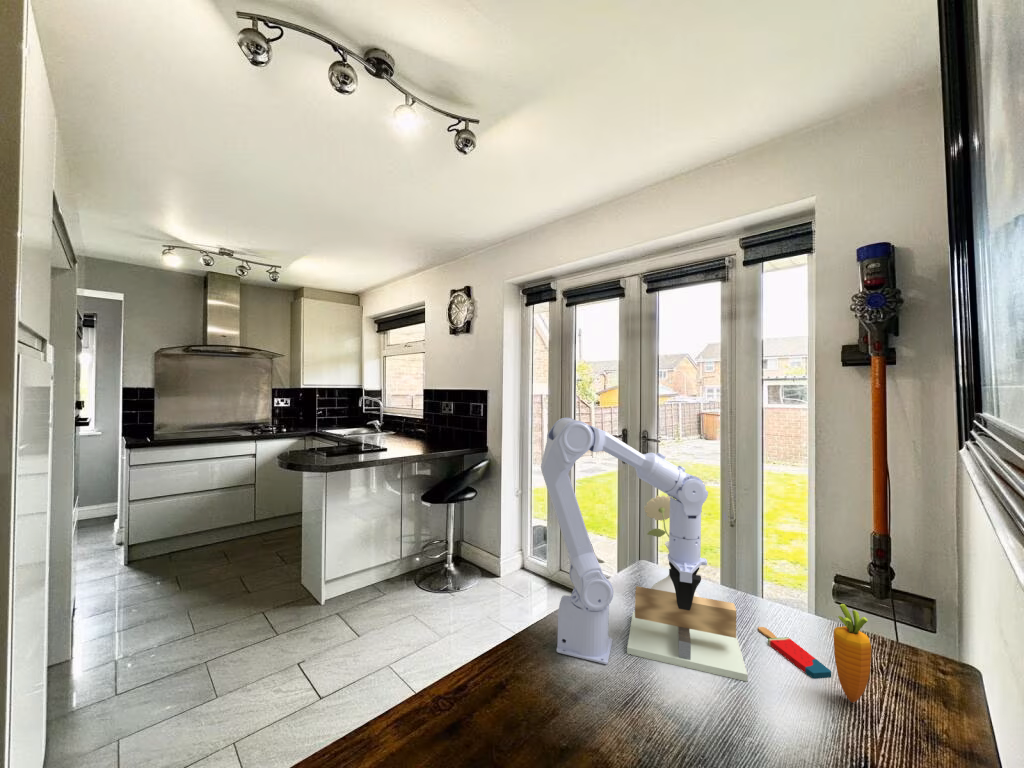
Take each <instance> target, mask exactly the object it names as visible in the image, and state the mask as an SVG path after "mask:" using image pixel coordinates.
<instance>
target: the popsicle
mask: <svg viewBox="0 0 1024 768" xmlns="http://www.w3.org/2000/svg"><path fill="white" fill-rule="evenodd" d="M757 629H758V631H759V633H761V634H762V635H764V636H765V637H767V645H769V646H770V647H771V648H772V649H774V650H775V651H776V652H778V653H779V654H780V655H781V656H782V657H784V658H785V659H787V661H789V662H790V663H792V664H793V665H794V666H796V667H797V668H798V669H800V671H802V672H803V673H805V674H806V675H807V676H808V677H810V678H812V679H813V680H814V679H815V680H816V679H826V678H827V679H829V678H832V671H831V670H830V669H829V668H828V667H827V666H826V665H824V664H823V663H822V662H821V661H820V660H818V659H816V658H815V657H814V656H813V655H812V654H810V653H809V652H808V651H807V650H805V649H804V648H803V647H801V646H800V645H799V644H798V643H796V642H795V641H793V640H792V639H791V638H789V637H786V636H785V637H777V636H776V635H775V634H774V633H773V632H772V631H771V630H769V629H768V628H767V627H765V626H758V627H757Z"/></svg>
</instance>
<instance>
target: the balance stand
mask: <svg viewBox="0 0 1024 768" xmlns="http://www.w3.org/2000/svg"><path fill="white" fill-rule="evenodd" d="M626 654H627V655H630V654H631V655H630V656H635V657H638V658H643V659H649V660H653V661H657V662H661V663H666V664H668V665H675V666H678V667H682V668H687V669H691V670H695V671H700V672H704V673H709V674H712V675H713V674H714V675H717V676H722V677H727V678H731V679H733V680H734V679H735V680H739V681H743V682H746V683H747V682H748V677H749V676H748V672H747V671H748V670H747V667H746V665H745V662H744V661H745V660H744V658H743V654H742V649H741V648H740V643H739V640H738V636H737V635H736V638H733V637H728V636H723V635H718V634H713V633H708V632H703V631H698V630H693V629H688V628H683V627H678V626H673V625H668V624H663V623H658V622H653V621H648V620H643V619H638V618H635V610H634V611H632V616H631V623H630V628H629V636H628V641H627V647H626Z"/></svg>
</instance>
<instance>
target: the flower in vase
mask: <svg viewBox="0 0 1024 768" xmlns="http://www.w3.org/2000/svg"><path fill="white" fill-rule="evenodd" d="M643 509H644V512H645V513H646V516H647V517H648V518H650V519H654V521H662V523H663V528H664V530H663V529H661V528H658V527H657V528H652V529H650V530H649V531H648V532H647V533H646V535H649V536H653V537H656V538H661V537H663V536H664V535H665V534H666V535H667V537H668V538H669V533H668V531H667V529H666V522H665V520H668V519H670V497H669V496H668V495H667V496H666V495H661V496H660V495H656V496H655V497H651V498H650V499H649V500H648V501H647V502H646V505H644V507H643ZM664 545H665V547H666V548H667V550H668V551H667V552H669V540H668V541H665V542H664ZM650 589H655V590H661V591H667V592H673V593H676V592H675V588H674V584H673V582H672V580H671V578H670V575H669V574H668V575H667V576H666V577H665V578H663V579H661V580H659V581H657V582H655V584H653V585H652V586H651V588H650ZM694 596H696V597H701V595H700V594H699V592H697V589H696V590H695V593H694Z"/></svg>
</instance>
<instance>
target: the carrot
mask: <svg viewBox="0 0 1024 768" xmlns="http://www.w3.org/2000/svg"><path fill="white" fill-rule="evenodd" d="M839 608H840V610H841V612H842V614H843V615H844V617H843V616H841V615H839V616H838V617H837V618H838V619H839V620H840V621H841V623H843V625H844V626H837V627H834V629H833V651H834V654H833V655H834V661H835V665H836V672H837V677H838V681H839V683H840V685H841V689H842V690H843V693H844V694H845V696H846V699H848V700H849V702H850V703H856V702H857V701H858V700H859V699H860V698H861V697H862V695H863V694H864V692H865V690H866V689H867V685H868V682H869V679H870V673H871V664H872V644H871V641H870V638H869V636H868V635H867V634H866V633H864V632H862V631H860V630H861V629H862V628H863V626H864V625H865V624H866V623H868V618H866V617H865V616H862V617H861V618H860V614H859V611H857V610H854V609H852V610H851V611H852V615H851V613H850V611H849V609H848V607H847V605H846V604H844V603H841V604H839ZM852 616H853V617H852Z"/></svg>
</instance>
